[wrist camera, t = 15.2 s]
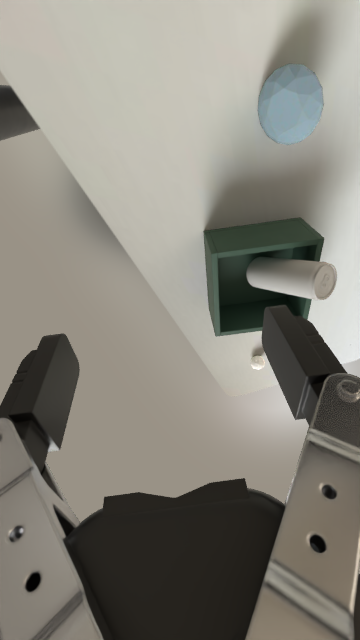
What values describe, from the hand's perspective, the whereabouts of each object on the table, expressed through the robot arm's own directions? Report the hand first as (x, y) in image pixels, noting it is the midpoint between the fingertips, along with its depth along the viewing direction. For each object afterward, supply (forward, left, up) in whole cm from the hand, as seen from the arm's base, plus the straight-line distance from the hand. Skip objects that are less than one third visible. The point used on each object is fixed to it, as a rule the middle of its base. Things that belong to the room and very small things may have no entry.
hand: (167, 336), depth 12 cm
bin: (+12, -16, -33) cm, 39 cm away
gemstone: (+15, +5, -33) cm, 37 cm away
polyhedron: (+14, -38, -33) cm, 53 cm away
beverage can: (+13, -16, -31) cm, 37 cm away
